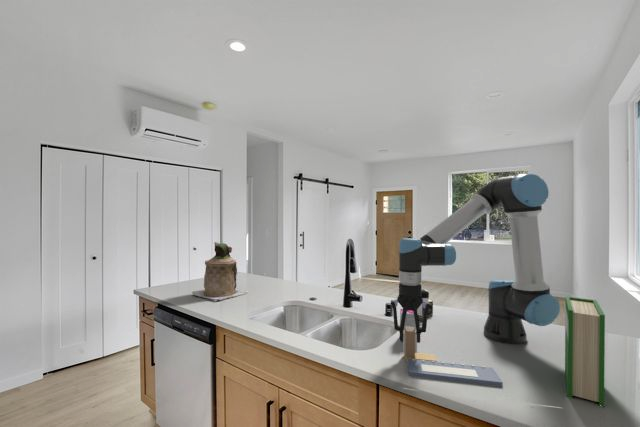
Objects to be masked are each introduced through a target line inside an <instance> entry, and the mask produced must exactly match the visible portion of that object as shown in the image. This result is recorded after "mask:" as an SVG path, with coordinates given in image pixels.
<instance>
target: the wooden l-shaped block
mask: <svg viewBox="0 0 640 427" xmlns="http://www.w3.org/2000/svg"><path fill="white" fill-rule="evenodd" d="M405 332H406V351H405V352H404V357H405V358H404V359H405V361H408V359H415V360H425V361H435V362H438V361H437V357H436V354H434V353H426V352H425V353H424V352H417V353H415V330H414V327H410V326H405Z"/></svg>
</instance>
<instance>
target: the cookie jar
mask: <svg viewBox="0 0 640 427" xmlns="http://www.w3.org/2000/svg"><path fill="white" fill-rule="evenodd" d="M232 251H233V248H232V247H231V246H228V244H227V243H224V242H222V243H221V242H217V241H215V242H214V253H215V255H214V256H213V257H212V258H210V259H208V260H204V265H205V272H204V278H203V287H204V289H201V290H195V291H192V292H191V294H192V297H194V296H196V297H200V298H204V299H207V300H210V301H214V302H217V301H224V300H227V299H231V298H234V297H235V298H236V297H239V296H243V295H248V293H249V291H248V290H247V289H241V288H237V275H238V266H237V261H236V259H234V258H232V257H231V255H230V254H231V253H232Z"/></svg>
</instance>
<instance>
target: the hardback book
mask: <svg viewBox="0 0 640 427" xmlns="http://www.w3.org/2000/svg"><path fill="white" fill-rule="evenodd" d="M564 315H565V317H564V318H565V319H564V320H565V321H564V322H565V325H564V329H565V332H564V333H565V337H564V375H565V384H567V385H566V392H567V398H568V397H570V398H569V399H571V398H572V399H573V396H575V397H578V398H581V399H586V400H589V401H592V402H597V403H598V402H599V403H598V406H599V405H601V406H604V407H605V348H606V347H605V346H606V345H605V337H606V335H605V334H606V333H605V332H606V330H605V329H606V326H605V325H606V322H605V321H606V315H605V313H604V311H603V310H602V307H601V306H600V304H599V303H598V300H596V299H589V298H581V297H573V296H565V313H564ZM601 406H600V407H601Z"/></svg>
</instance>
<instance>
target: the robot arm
mask: <svg viewBox="0 0 640 427" xmlns="http://www.w3.org/2000/svg"><path fill="white" fill-rule="evenodd" d="M549 193H550V192H549V187H548V185H547V183H546V181H545V180H544V178H541V177H540V176H539V175H537V174H533V173H519V174H515V175H508V176H500V177H497V178H495V179H492V180H491V181H490V182H488V183H487V184H485V185H483V186H482V187H480V189H478V190H477V191H476V192H475V193H473V194H472V195H471V196H470V199H469V200H468V201H467V202H465V204H463V205H461V206H460V207H459V208H458V209H457V210H456V211H453V213H451V214H450V215H449V216H447V217H446V218H445V219H444V220H442V221H441V222H440V223H438V224H437V225H436V226H434V227H433V228H432V229H430V231H428V232H426V234H424V235H423V236H421V237H420V238H414V237H411V238H409V237H404V238H401V239H400V240H399V245H398V262H399V263H398V264H399V266H398V267H399V268H398V281H399V283H398V296H397V298H396V299H391V300H390V305H391V307H392V314H393V325H394V326H393V327H394V330H395V331H398V332H399V342H400V341H403V342H402V352H403V353H405V351H406V332H405V330H404V325H405V319H406V313H407V311H409V310H411V311H413V312H414V319H415V325H416V331H415V353H418V344H419V343H421V334H422V333H426V332H427V324H428V323H427V322H428V316H427V315H428V310H429V308H430V304H429V302H425V301H423V299H422V297H421V289H422V284H421V283H422V271H423V270H422V268H423V267H425V266H430V267H431V266H432V267H433V266H435V267H436V266H437V267H440V266H442V267H445V266H452V265H454V264H455V263H456V260H457V251H456V248H455V247H454V245H453V244H451V243H448V242H450V241H451V240H453V239H454V238H455V237H456V236H458V235H459V234H460V233H461V232H463V231H464V230H466V228H468V227H469V226H470V225H472V224H473V223H475V221H477V220H478V219H480V218H481V217H483V215H488V214H489V215H490V213H492V212H493V211H495V210H496V209H497V210H498V209H500V208H503V213H504V214H505V215H506V216H507V217H508V219H509V227H510V236H511V247H512V256H513V266H514V274H515V275H514V277H515V279H491V280H490V281H489V283H488V289H487V290H488V315H487V317H486V321H485V322H484V323H485V324H484V326H483V335H484V336H486V337H487V338H488V339H491V340H493V341H497V342H500V343H506V344H514V345H515V344H516V345H517V344H525V343H526V342H527V332H526V330H525V327H524V323H523V321H525V322H527V323H528V324H531V325H535V326H538V327H547V326H549V325H551V324H553V323H554V322H555V321H556V319H557V318H558V316H559V314H560V310H561V304H560V302H559V300H558V299H557V298H556V297H555V296H554V295H552V294H551V290H550V285H549V284H548V283H547V282H546V281H545V280H544V270H543V261H542V250H541V241H540V232H539V231H540V229H539V228H540V227H539V221H538V219H539V218H538V215H539V213H541V212H542V211H543V209H542V205H544V204H545V203H546V202H547V199H548V198H549ZM398 303H399V305H400V307H401V309H403V311H402V317H401V323H400V322H399V321H398V311H397V307H398ZM421 304H423V308H424V309H423V317H422V320H421V326H420V320H419V316H418V313H417V309H418V308H419V307H420V305H421ZM522 320H523V321H522ZM398 322H399V323H398ZM398 324H399V325H398Z"/></svg>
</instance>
